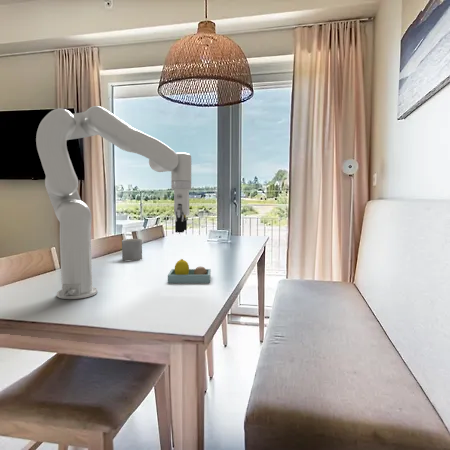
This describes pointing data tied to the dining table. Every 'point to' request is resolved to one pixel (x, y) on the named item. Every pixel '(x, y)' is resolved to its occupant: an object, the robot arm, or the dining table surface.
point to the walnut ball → (200, 271)
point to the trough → (189, 277)
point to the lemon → (181, 267)
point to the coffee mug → (132, 249)
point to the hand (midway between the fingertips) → (181, 231)
